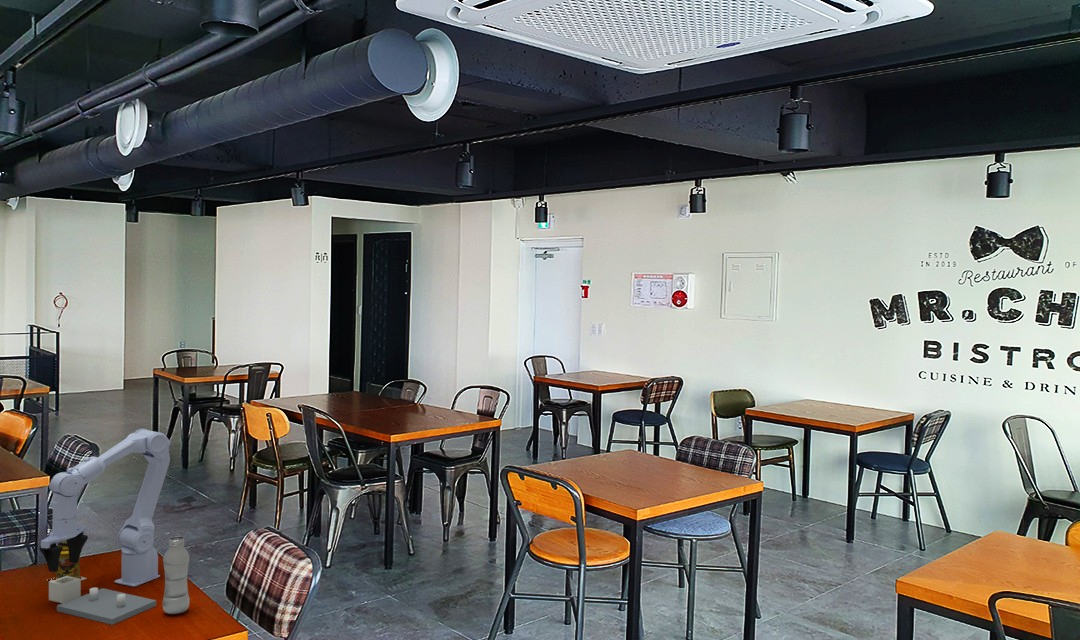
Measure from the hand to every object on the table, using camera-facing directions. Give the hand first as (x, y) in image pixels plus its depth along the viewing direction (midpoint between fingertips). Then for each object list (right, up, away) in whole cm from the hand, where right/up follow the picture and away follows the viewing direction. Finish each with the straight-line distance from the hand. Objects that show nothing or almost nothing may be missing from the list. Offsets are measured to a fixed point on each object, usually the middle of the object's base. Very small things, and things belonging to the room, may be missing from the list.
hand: (63, 566), depth 224 cm
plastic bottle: (+33, -11, -5) cm, 35 cm away
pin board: (+14, -10, -3) cm, 17 cm away
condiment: (-9, -9, +16) cm, 20 cm away
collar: (-1, -9, +3) cm, 10 cm away
